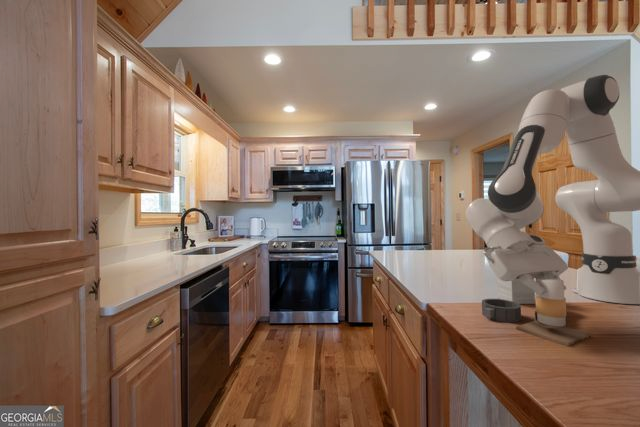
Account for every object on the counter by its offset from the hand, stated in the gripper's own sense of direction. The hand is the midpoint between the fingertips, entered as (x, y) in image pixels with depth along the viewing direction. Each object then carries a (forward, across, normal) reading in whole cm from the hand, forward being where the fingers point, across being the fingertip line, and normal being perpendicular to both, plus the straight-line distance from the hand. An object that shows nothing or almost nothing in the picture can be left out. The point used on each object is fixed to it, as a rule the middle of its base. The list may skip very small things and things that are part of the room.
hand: (552, 291), depth 63 cm
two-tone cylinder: (+5, 0, +6) cm, 7 cm away
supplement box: (-8, +16, +22) cm, 29 cm away
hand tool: (+2, +10, +12) cm, 15 cm away
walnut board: (+6, 0, +7) cm, 10 cm away
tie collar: (-2, -1, +16) cm, 16 cm away
